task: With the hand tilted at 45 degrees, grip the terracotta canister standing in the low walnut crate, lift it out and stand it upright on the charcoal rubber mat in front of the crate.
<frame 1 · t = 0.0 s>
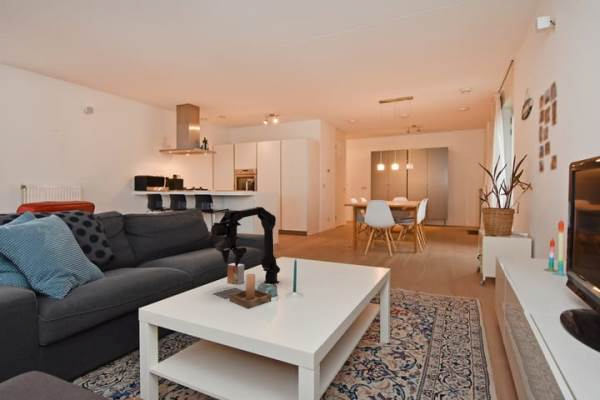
hand: (230, 265, 163), 15 cm above the table, tool pointing down, fingers open, 9 cm apart
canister: (250, 300, 152), resting on crate
small box: (235, 282, 183), on the table
mat: (230, 294, 163), on the table
crate: (250, 301, 152), on the table
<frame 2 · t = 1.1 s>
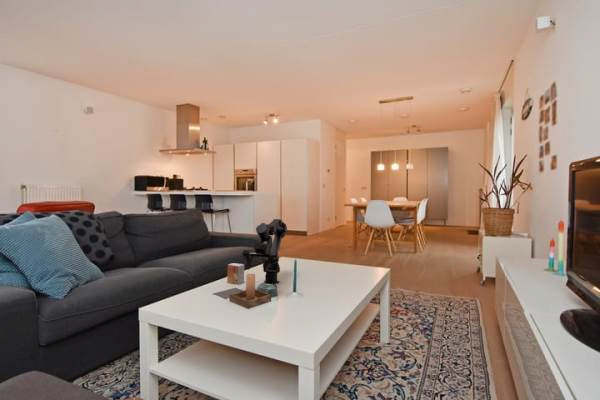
hand: (256, 270, 159), 13 cm above the table, tool tilted 45°, fingers open, 9 cm apart
nothing on the table moved.
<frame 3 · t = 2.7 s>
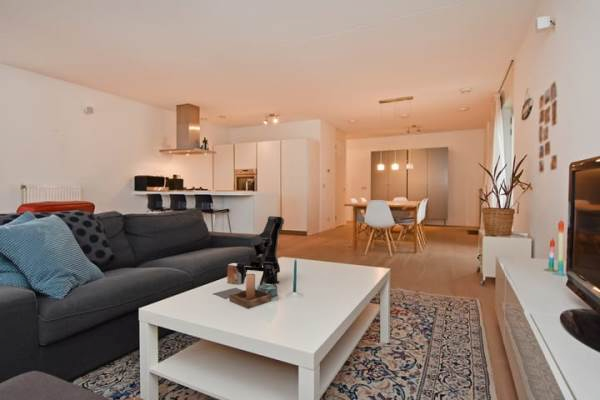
hand: (251, 284, 152), 8 cm above the table, tool tilted 45°, fingers open, 9 cm apart
nothing on the table moved.
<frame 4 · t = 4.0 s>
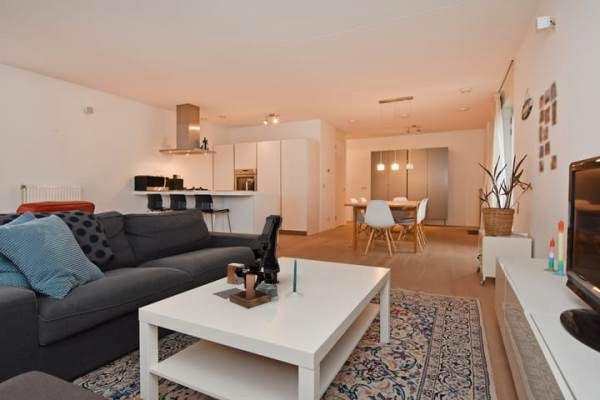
hand: (249, 289, 150), 7 cm above the table, tool tilted 45°, fingers closed on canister, 4 cm apart
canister: (250, 300, 152), resting on crate, touching gripper
everything else where it was.
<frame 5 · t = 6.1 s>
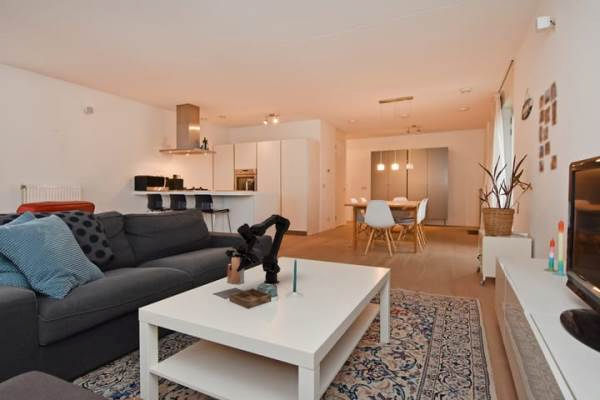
hand: (233, 270, 157), 13 cm above the table, tool tilted 45°, fingers closed on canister, 4 cm apart
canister: (235, 282, 158), point 7 cm above the table, touching gripper
everything else where it was.
when the fingers open (7 cm above the table, at t = 8.3 s): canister stays where it is, resting on mat.
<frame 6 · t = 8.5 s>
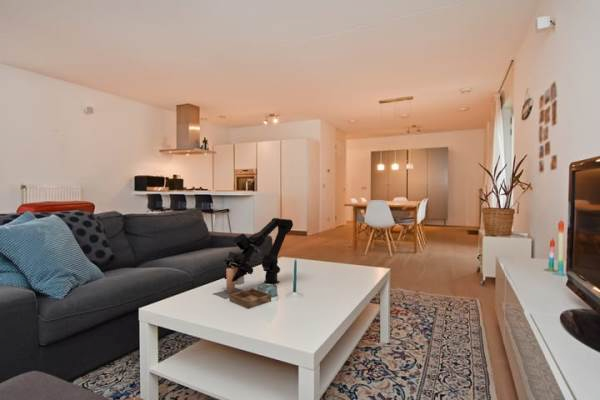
hand: (228, 280, 161), 8 cm above the table, tool tilted 45°, fingers open, 6 cm apart
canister: (230, 292, 163), point 1 cm above the table, touching mat
everything else where it was.
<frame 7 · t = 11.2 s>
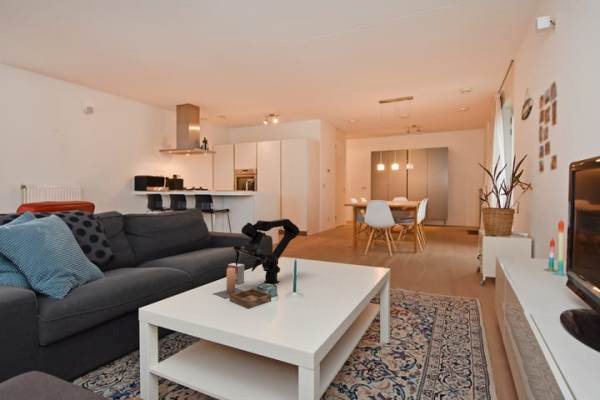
hand: (244, 268, 169), 12 cm above the table, tool tilted 30°, fingers open, 9 cm apart
nothing on the table moved.
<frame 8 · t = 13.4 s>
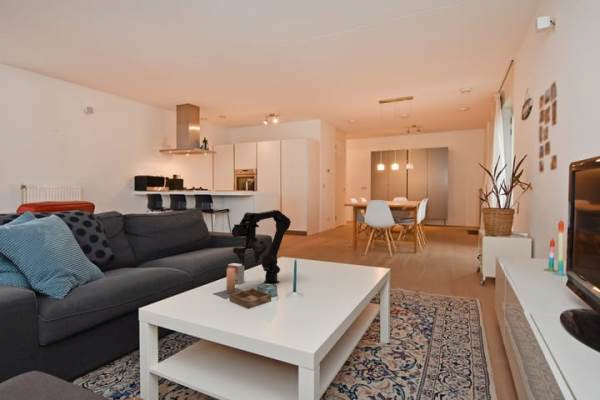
hand: (249, 264, 173), 13 cm above the table, tool pointing down, fingers open, 9 cm apart
nothing on the table moved.
at the end: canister inside the target area on the mat (0.0 cm from its centre), point 0.6 cm above the mat's base; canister tilted 0°; the gripper is holding nothing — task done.
